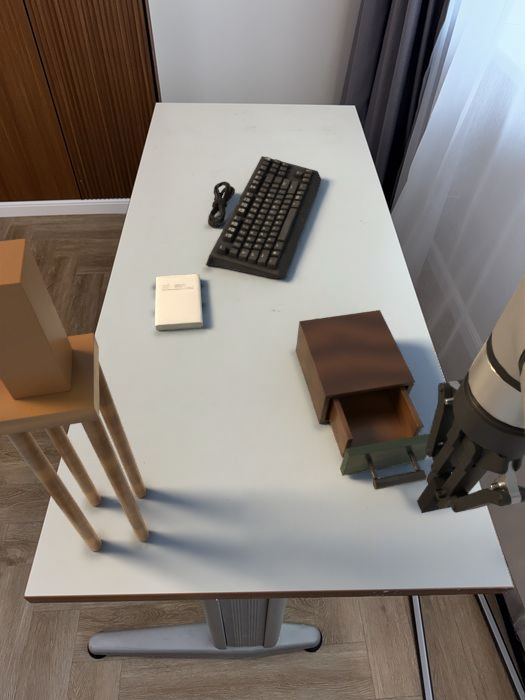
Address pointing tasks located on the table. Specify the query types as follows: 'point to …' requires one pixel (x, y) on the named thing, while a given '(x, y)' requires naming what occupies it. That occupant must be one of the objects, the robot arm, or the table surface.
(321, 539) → the table surface
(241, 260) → the keyboard
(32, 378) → the block
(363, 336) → the cabinet
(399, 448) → the drawer
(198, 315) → the hard drive
